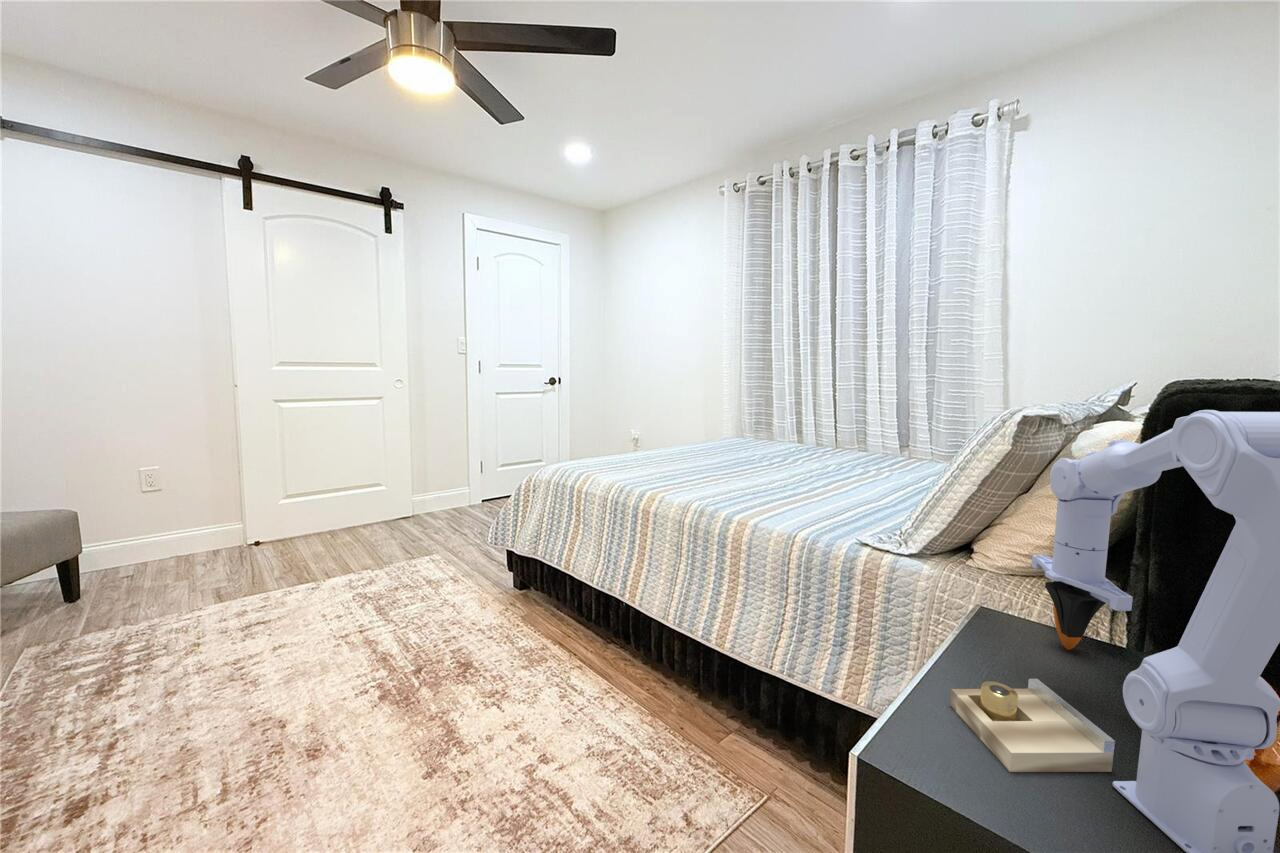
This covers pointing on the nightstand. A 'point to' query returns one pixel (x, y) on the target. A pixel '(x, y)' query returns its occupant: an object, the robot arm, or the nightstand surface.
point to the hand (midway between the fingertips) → (1071, 635)
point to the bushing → (998, 701)
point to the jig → (1038, 732)
